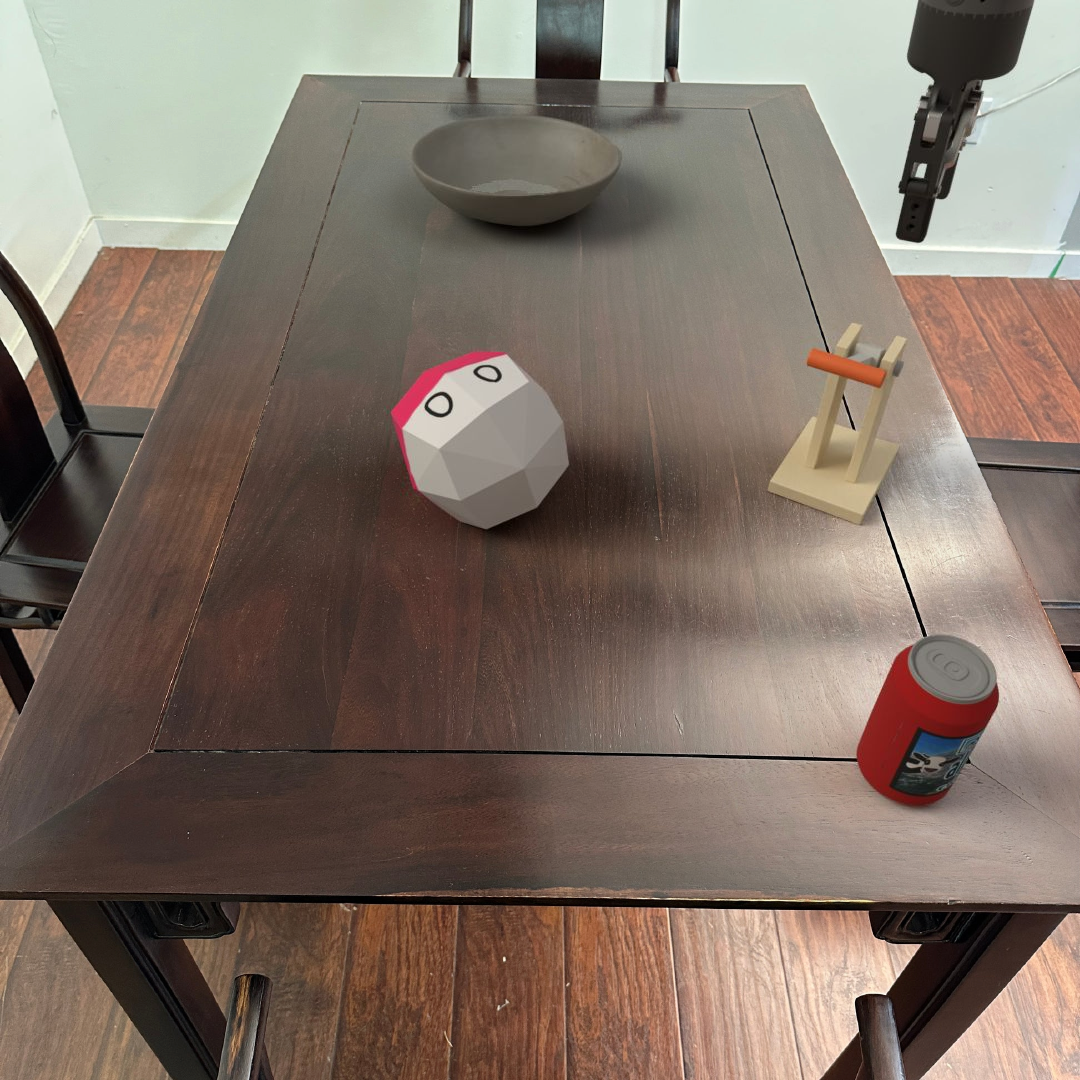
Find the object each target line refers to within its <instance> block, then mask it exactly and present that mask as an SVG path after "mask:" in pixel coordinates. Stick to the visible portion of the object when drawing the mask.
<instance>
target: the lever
mask: <svg viewBox="0 0 1080 1080" xmlns="http://www.w3.org/2000/svg"><path fill="white" fill-rule="evenodd" d="M809 351H810V352H809V354H808V356H807V359H806V366H807V367H810V368H813V369H816V370H820V371H823V372H825V373H828V374H829V373H832V374H835V375H838V376H842V377H845V378H848V379H849V380H851V381H855V382H858V383H861V384H865V385H868V386H871V387H877V388H881V386H882V384H883V382H884V380H885V377H886V374H887V371H886V370H883V369H880V364H881V361H882V359H883V357H884V355H885V354H886V352H887V348H886V347H882V346H879V345H877V344H876V345H875V344H872V343H869V342H865V341H860V342H858V343H857V345H856V348H855V350H854V353H853V356H851V357H849V358H844V357H841V356H837V355H834V354H832V352H831V353H830V352H827V351H824V350H821V349H817V348H814V347H813V348H811V350H809Z"/></svg>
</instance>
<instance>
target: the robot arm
mask: <svg viewBox="0 0 1080 1080" xmlns="http://www.w3.org/2000/svg"><path fill="white" fill-rule="evenodd" d="M916 4H917V5H916V9H915V12H914V13H915V14H914V18H913V23H912V27H911V33H910V38H909V43H908V47H907V53H906V60H907V63H908V64H909V66H910V67H911V68H912V69H913V70H915V71H916V72H918V73H919V74H925V75H928V76H929V78H931V79H932V80H933V84H931V83H929V84H928V86H927V88H926V93H925V95H921V96H920V98H919V101H918V104H917V108H916V109H915V110H916V111H915V114H914V117H913V121H914V123H913V127H912V132H911V136H910V141H909V144H908V148H907V151H906V152H907V153H906V157H905V163H904V167H903V171H902V175H901V179H900V180H899V182H898V186H897V188H898V194H901V195H903V199H902V203H901V208H900V213H899V216H898V221H897V226H896V230H895V238H896V239H898V240H899V241H904V242H909V243H916V244H920V243H923V242H924V241H925V239H926V237H927V235H928V231H929V227H930V223H931V220H932V215H933V211H934V207H935V203H936V201H937V200H940V201H941V200H945V199H947V198H948V196H949V194H950V192H951V189H952V184H953V182H954V177H955V174H956V169H957V166H958V162H959V158H960V154H961V152H963V150H964V148H966V145H967V143H968V139H967V138H968V137H970V136H971V135H972V132H973V129H974V127H975V124H976V120H977V116H978V114H979V110H980V108H981V105H982V102H983V100H984V95H985V91H984V90H982V88H983V84H984V81H989V80H995V79H998V78H1001V77H1003V76H1004V77H1005V76H1006V75H1008V74H1009V73H1011V72H1012V71H1013V70H1014V69H1015V67H1016V66H1017V64H1018V61H1019V57H1020V53H1021V50H1022V46H1023V43H1024V40H1025V36H1026V32H1027V28H1028V26H1029V21H1030V18H1031V14H1032V11H1033V8H1034V5H1035V0H917V3H916ZM921 165H926V167H925V172H924V176H923V177H919V176H917V172H918V169H919V167H920V166H921Z"/></svg>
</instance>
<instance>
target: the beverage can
mask: <svg viewBox="0 0 1080 1080" xmlns="http://www.w3.org/2000/svg"><path fill="white" fill-rule="evenodd" d="M997 680H998V674H997V670H996V667H995V665H994V663H993V661H992V660H991V658H990V657H989V656H988V655H987V654H986V653H985V652H984V651H983V649H981V648H979V646H977V645H976V644H974V643H972V642H971V641H969V640H967V639H964V638H962V637H959V636H955V635H950V634H940V633H939V634H931V635H927V636H926V635H925V636H924V637H922V638H920V639H919V640H917V641H916V642H915V643H913V644H911V645H909V646H907V647H905V648H904V649H902V650H901V651H900V652H898V653H897V655H896V656H895V658H894V660H893V661H892V663H891V666H890V669H889V671H888V673H887V675H886V677H885V680H884V681H883V684H882V687H881V689H880V691H879V693H878V695H877V698H876V700H875V703H874V705H873V708H872V710H871V712H870V715H869V717H868V720H867V721H866V724H865V727H864V729H863V731H862V733H861V737H860V739H859V741H858V744H857V746H856V762H857V766H858V768H859V771H860V774H861V775H862V777H863V778H864V780H865V781H866V782H867V783H868V784H869V785H870V786H871V787H872V789H873V790H875V792H877V793H879V794H880V795H882V796H883V797H885V798H886V799H888V800H891V801H892V802H895V803H898V804H902V805H905V806H910V807H911V806H912V807H922V806H928V805H931V804H934V803H937V802H939V801H941V799H943V798H945V796H946V795H947V794H948V793H949V791H950V790H951V788H952V786H953V785H954V783H955V782H956V780H957V779H958V776H959V775H960V773H961V771H962V770H963V768H964V767H965V765H966V763H967V762H968V760H969V758H970V756H971V754H972V753H973V751H974V749H975V747H976V746H977V744H978V742H979V741H980V740H981V737H982V735H983V734H984V732H985V730H986V729H987V727H988V725H989V723H990V721H991V719H992V717H993V716H994V714H995V712H996V710H997V708H998V706H999V702H1000V689H999V685H998V682H997Z"/></svg>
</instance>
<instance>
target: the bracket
mask: <svg viewBox="0 0 1080 1080" xmlns="http://www.w3.org/2000/svg"><path fill="white" fill-rule="evenodd" d="M862 330H863V325H862V324H859V323H855V322H851V323H850V325H848V327H847V328H846V331H845V332H844V334H843V335H842V336H841V338H840V339H839V341H836V342H835V343H834V346H833V348H832V351H831V354H834V355H837V356H841V357H844V358H849V357H851V356H853V353H854V350H855V348H856V345H857V343H859V341H860V337H861V334H862ZM907 342H908V338H907V337H903V336H900V335H896V336H895V337H894V338H893V341H892V342H891V344H890V345H889V347H888V349H886V352H885V355H884V357H883V359H882V361H881V364H880V369H883V370H886V371H887V374H886V377H885V380H884V382H883V384H882V386H881V388H877V387H874V386H872V391H871V394H870V397H869V399H868V400H869V401H868V404H867V406H866V410H865V412H864V417H863V420H862V423H861V426H860V430H859V431H858V430H855V429H852V428H849V427H846V426H843V425H840V424H837V423H836V421H837V418H838V415H839V411H840V407H841V403H842V401H843V396H844V393H845V389H846V386H847V383H848V378H845V377H842V376H838V375H835V374H832V373H829V372H828V376H827V379H826V382H825V386H824V391H823V393H822V398H821V400H820V405H819V409H818V413H817V416H812V417H811V418H810V419H809V421H808V422H807V424H806V426H805V427H804V428H803V430H802V431H801V433H800V434H799V436H798V438H797V440H796V441H795V442H794V444H793V445H792V447H791V449H790V450H789V452H788V453H787V454H786V456H785V457H784V459H783V461H782V462H781V463H780V465H779V467H778V468H777V469H776V471H775V473H774V474H773V476H772V477H771V479H770V480H769V483H768V488H767V492H769V493H772V494H775V495H777V496H780V497H782V498H785V499H787V500H791V501H793V502H796V503H799V504H802V505H805V506H808V507H810V508H813V509H815V510H818V511H820V512H823V513H826V514H829V515H831V516H834V517H837V518H838V519H839V518H840V519H843V520H845V521H848V522H851V523H853V524H856V525H859V526H860V525H861V524H862V522H863V521H864V518H865V516H866V515H867V513H868V511H869V509H870V507H871V505H872V503H873V501H874V499H875V498H876V496H877V494H878V492H879V490H880V488H881V486H882V484H883V482H884V481H885V479H886V476H887V475H888V473H889V471H890V469H891V467H892V465H893V463H894V461H895V459H896V458H897V456H898V453H899V450H900V446H901V445H900V444H898V443H894V442H891V441H888V440H885V439H883V438H879V437H877V435H878V432H879V429H880V425H881V422H882V419H883V416H884V414H885V410H886V407H887V405H888V402H889V399H890V395H891V392H892V388H893V386H894V383H895V379H896V378H899V377H900V376H901V373H902V370H903V368H904V364H905V362H904V360H902V358H903V355H904V352H905V348H906V346H907Z"/></svg>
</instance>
